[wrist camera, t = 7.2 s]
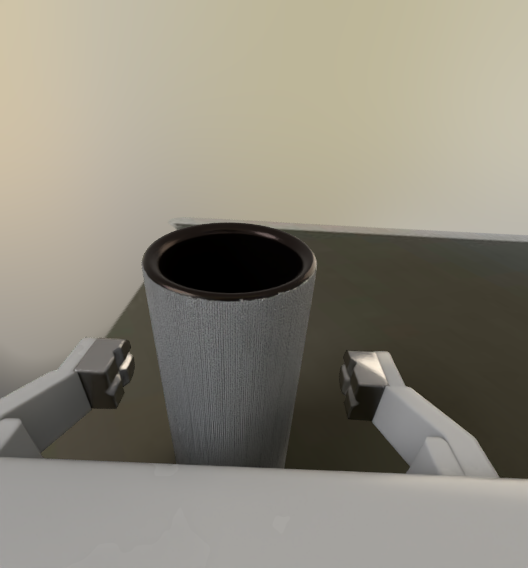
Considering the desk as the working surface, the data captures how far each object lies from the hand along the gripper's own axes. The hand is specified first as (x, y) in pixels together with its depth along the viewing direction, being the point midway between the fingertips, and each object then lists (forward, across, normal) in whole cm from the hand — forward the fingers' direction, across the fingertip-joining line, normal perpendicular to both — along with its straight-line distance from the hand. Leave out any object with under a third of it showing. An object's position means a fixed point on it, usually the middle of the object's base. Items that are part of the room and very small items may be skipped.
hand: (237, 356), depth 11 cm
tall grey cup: (-1, 0, +6) cm, 6 cm away
